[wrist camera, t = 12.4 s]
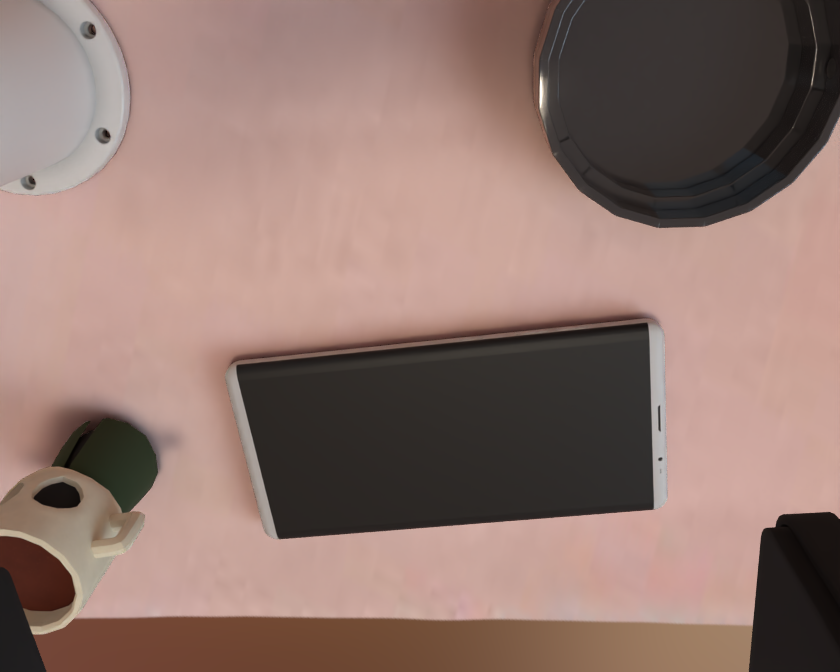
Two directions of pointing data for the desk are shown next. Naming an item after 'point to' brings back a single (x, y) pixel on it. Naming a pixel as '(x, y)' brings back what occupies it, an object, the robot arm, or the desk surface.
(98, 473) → the character mug
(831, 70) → the pan handle
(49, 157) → the robot arm
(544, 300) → the desk surface
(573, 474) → the smartphone
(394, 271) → the desk surface
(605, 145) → the pan
